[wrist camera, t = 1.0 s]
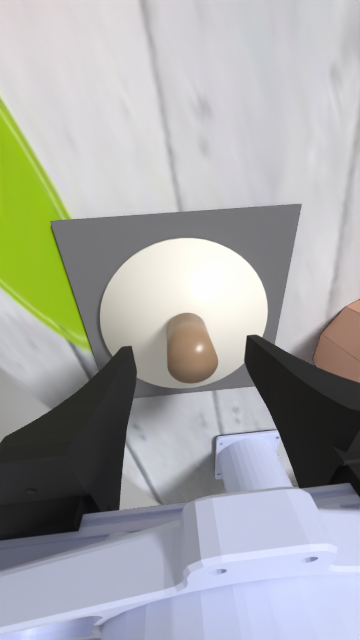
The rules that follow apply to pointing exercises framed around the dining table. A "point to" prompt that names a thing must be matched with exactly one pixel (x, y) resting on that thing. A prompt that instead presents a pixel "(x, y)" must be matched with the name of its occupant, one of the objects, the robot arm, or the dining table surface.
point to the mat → (144, 230)
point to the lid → (184, 311)
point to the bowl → (341, 344)
